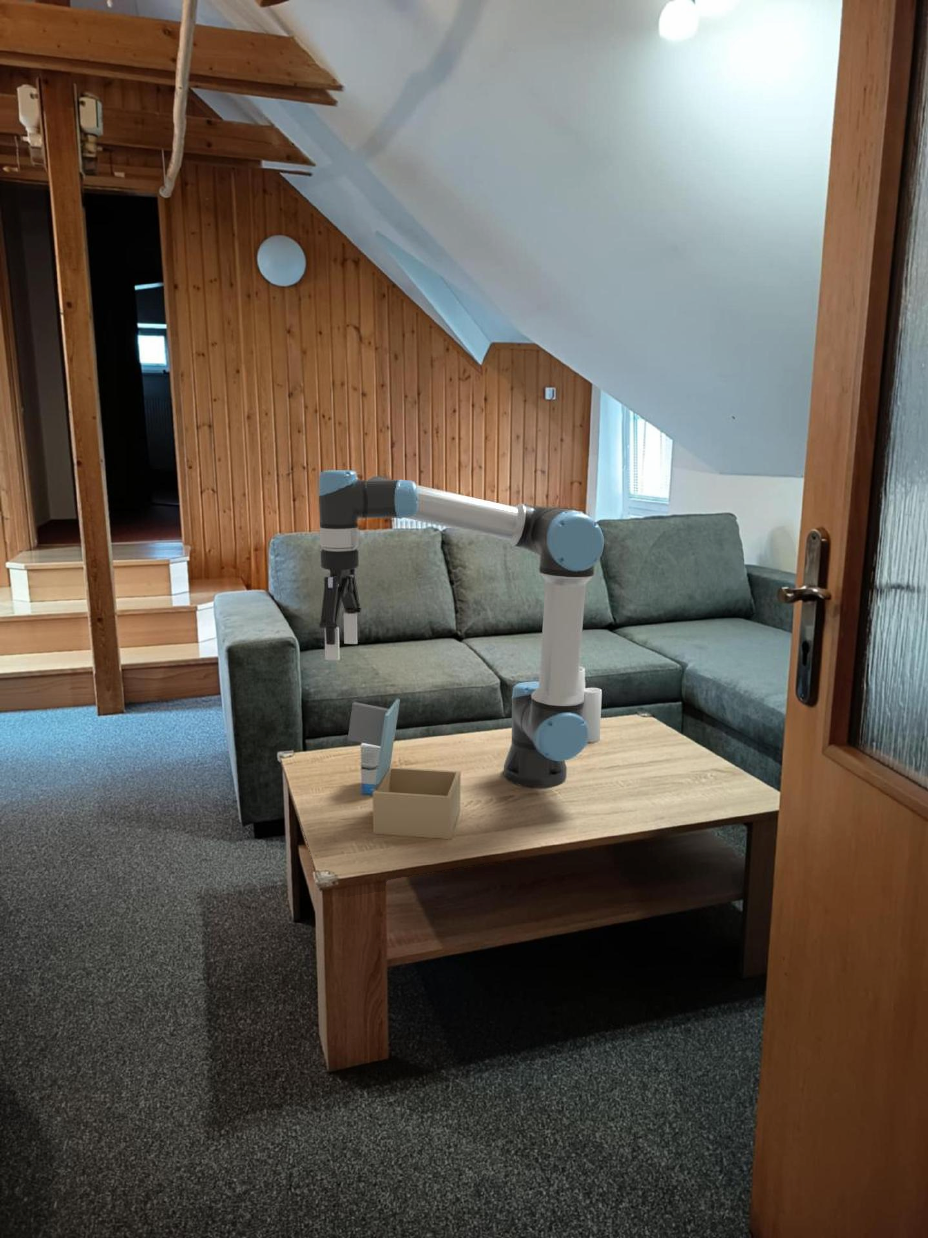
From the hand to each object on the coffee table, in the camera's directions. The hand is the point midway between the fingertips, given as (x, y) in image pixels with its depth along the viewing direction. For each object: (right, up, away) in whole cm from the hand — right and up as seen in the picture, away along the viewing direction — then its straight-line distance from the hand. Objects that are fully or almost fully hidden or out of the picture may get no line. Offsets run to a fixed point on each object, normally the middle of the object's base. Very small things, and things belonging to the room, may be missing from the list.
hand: (342, 651), depth 175 cm
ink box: (+5, -33, +23) cm, 40 cm away
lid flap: (+9, -19, +3) cm, 22 cm away
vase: (+56, -26, +55) cm, 83 cm away
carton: (+15, -36, +6) cm, 40 cm away
